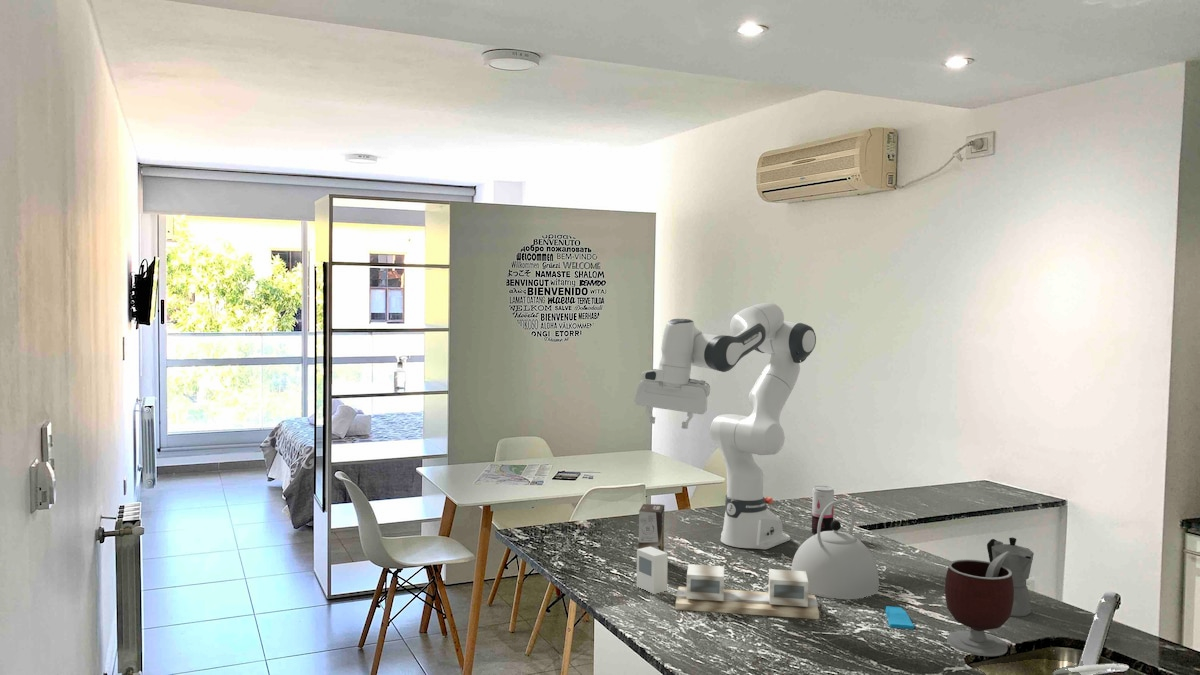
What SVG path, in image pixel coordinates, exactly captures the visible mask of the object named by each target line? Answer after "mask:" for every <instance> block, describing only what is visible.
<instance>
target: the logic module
mask: <svg viewBox="0 0 1200 675" xmlns="http://www.w3.org/2000/svg"><path fill="white" fill-rule="evenodd" d="M668 554H669V553H668V552H665V551H664V552H663V551H661V550H658V549H656V548H653V547H651V546H650V547H645V548H641V549H638V548H637V549H636V586H637V587H636V588H638V587H639V588H638V589H640V588H641V589H640V590H642V589H644V590H646V591H648V592H650V593H649V594H651V593H652V594H651V595H653V594H655V595H657V594H656V593H659V594H661V593H660V592H663V593H665V592H664V591H667V592H668V558H669V557H668V556H669V555H668ZM644 590H643V591H644ZM646 591H645V592H646ZM648 592H647V593H648Z"/></svg>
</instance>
